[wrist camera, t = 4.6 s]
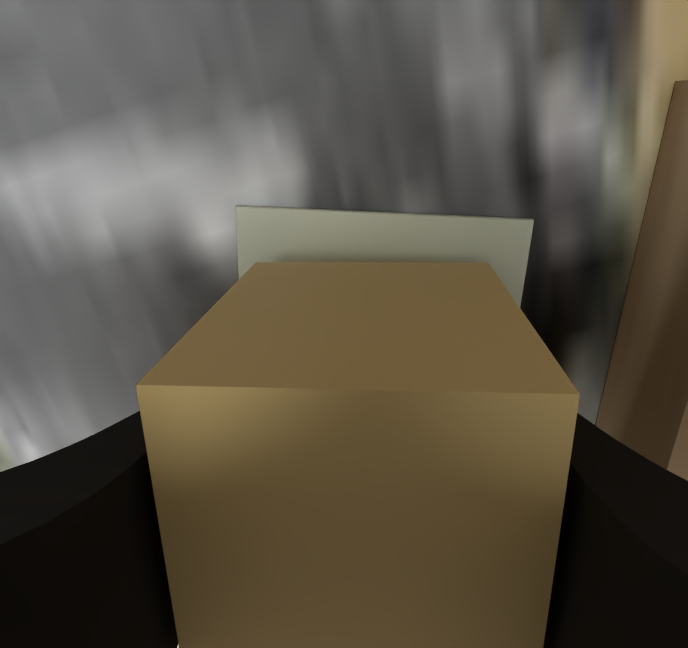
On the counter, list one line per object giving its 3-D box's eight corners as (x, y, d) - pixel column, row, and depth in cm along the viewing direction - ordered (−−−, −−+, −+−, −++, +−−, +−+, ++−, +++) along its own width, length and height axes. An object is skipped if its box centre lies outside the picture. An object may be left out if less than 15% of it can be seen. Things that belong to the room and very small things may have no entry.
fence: (750, 83, 11) (891, 73, 8) (622, 542, 16) (680, 653, 13) (-4, 62, 13) (-143, 46, 9) (76, 496, 17) (2, 588, 14)
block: (488, 262, 12) (579, 393, 6) (473, 464, 13) (533, 714, 8) (255, 262, 12) (135, 385, 6) (270, 457, 14) (186, 690, 8)
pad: (532, 218, 13) (534, 220, 13) (493, 467, 15) (494, 472, 15) (237, 205, 13) (235, 206, 13) (247, 448, 16) (245, 452, 16)
